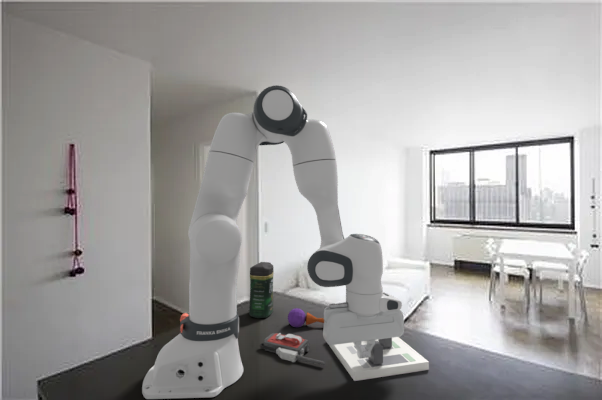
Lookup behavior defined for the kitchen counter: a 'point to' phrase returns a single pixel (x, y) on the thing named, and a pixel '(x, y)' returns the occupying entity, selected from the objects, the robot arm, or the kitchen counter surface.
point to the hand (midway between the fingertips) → (363, 356)
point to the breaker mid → (385, 342)
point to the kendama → (301, 318)
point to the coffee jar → (261, 290)
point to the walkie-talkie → (288, 347)
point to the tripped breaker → (376, 354)
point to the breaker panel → (394, 360)
